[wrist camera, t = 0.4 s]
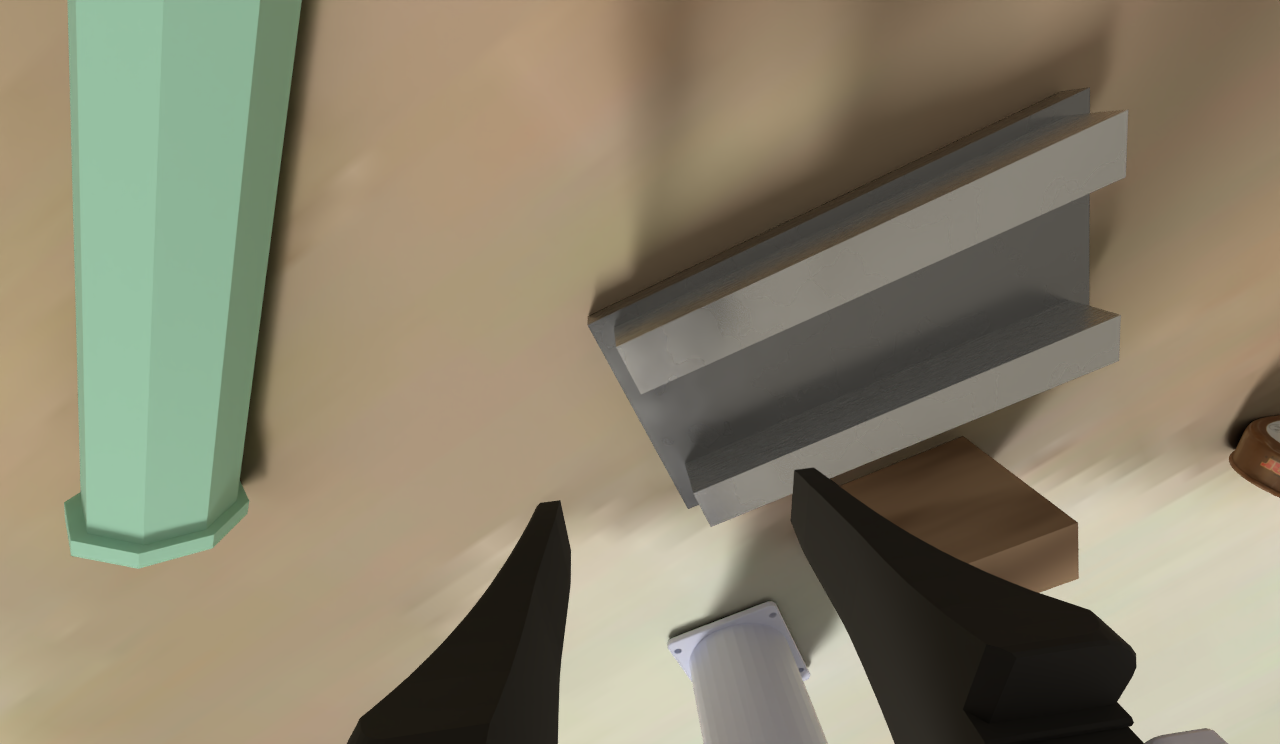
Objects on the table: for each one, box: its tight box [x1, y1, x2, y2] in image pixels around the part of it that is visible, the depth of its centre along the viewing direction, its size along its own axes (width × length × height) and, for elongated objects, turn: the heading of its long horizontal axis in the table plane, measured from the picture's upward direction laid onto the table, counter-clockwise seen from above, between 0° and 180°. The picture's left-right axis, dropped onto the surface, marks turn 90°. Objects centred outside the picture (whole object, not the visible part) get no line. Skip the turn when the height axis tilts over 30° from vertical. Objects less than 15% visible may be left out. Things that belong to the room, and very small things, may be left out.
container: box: [64, 0, 302, 569], centre depth 17 cm, size 6×6×25 cm
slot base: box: [588, 88, 1128, 527], centre depth 21 cm, size 12×22×4 cm, turn 115°
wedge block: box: [840, 436, 1079, 593], centre depth 24 cm, size 4×10×7 cm, turn 115°
